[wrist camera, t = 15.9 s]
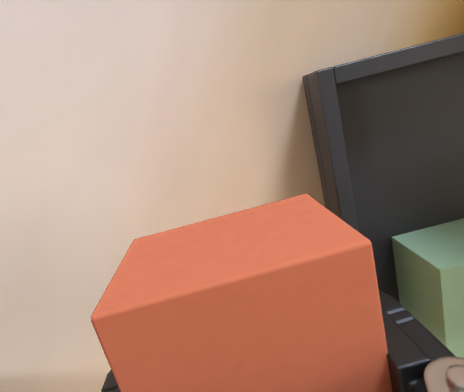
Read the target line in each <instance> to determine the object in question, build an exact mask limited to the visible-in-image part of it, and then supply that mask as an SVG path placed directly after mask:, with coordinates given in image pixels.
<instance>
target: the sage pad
mask: <svg viewBox="0 0 464 392" xmlns="http://www.w3.org/2000/svg"><path fill="white" fill-rule="evenodd" d="M392 245H393V253H394V261H395V269H396V277H397V285H398V293H399V301H400V304H401V305H402V306H403V307H404V308H405V310H408V311H409V312H410V313H411V314H412V315H413V316H414V318H415V319H417V320H418V321H419V322H420V323H421V324H422V325H423V326H424V327H426V328H427V329H428V330H429V331H430V332H431V333H432V334H433V335H434V336H435V337H436V338H437V339H438V340H439V341H440V342H441V343H442V344H443V345H444V346H446V347H447V348H448V349H449V350H450V351H451V352H452V353H453V354H454V355H455V356H456V357H462V358H464V218H463V219H459V220H455V221H451V222H447V223H443V224H439V225H436V226H432V227H428V228H424V229H420V230H416V231H412V232H408V233H405V234H401V235H397V236H393V237H392Z"/></svg>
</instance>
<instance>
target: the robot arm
mask: <svg viewBox="0 0 464 392" xmlns="http://www.w3.org/2000/svg"><path fill="white" fill-rule="evenodd" d="M379 296H380V302H381V309H382V316H383V323H384V329H385V336H386V343H387V350H388V354H387V357H388V364H389V371H390V377H391V384H392V391H393V392H464V358H462V357H456V356H455V355H454V354H453V353H452V352H451V351H450V350H449V349H448V348H447V347H446V346H444V345H443V344H442V343H441V342H440V341H439V340H438V339H437V338H436V337H435V336H434V335H433V334H432V333H431V332H430V331H429V330H428V329H427V328H426V327H424V326H423V325H422V324H421V323H420V322H419V321H418V320H417V319H415V318H414V316H413V315H412V314H411V313H410V312H409V311H408V310H405V308H404V307H403V306H402V305H401V304H400V303H399V302H398V301H397V300H396V299H395V298H394V297H393V296H391V295H389V294H386V293H384V292H382V291H380V290H379ZM102 392H121V391H120V389H119V386H118V384H117V382H116V379H115V377H114V374H113V372H112V370H110V372H109V373H108V374H107V377H106V380H105V382H104V385H103V388H102Z"/></svg>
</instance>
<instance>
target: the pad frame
mask: <svg viewBox="0 0 464 392" xmlns="http://www.w3.org/2000/svg"><path fill="white" fill-rule="evenodd" d="M303 82H304V88H305V94H306V99H307V105H308V110H309V116H310V122H311V127H312V133H313V139H314V144H315V150H316V155H317V161H318V167H319V172H320V178H321V184H322V189H323V195H324V200H325V206H326V208H327V209H328V210H329V211H331V212H332V213H333V214H335V215H336V216H337V217H339V218H340V219H342V220H343V221H344V222H346V223H347V224H348V225H350V226H351V227H352V228H354V229H355V230H356V231H358V232H359V233H361V234H362V235H363V236H365V237H366V238H367V239H369V240H370V241H371V243H372V248H373V255H374V262H375V269H376V275H377V282H378V289H379V290H380V291H382V292H384V293H386V294H389V295H391V296H393V297H394V298H395V299H396V300H397V301H398V302H399V303H400V301H399V293H398V285H397V277H396V269H395V261H394V253H393V245H392V237H393V236H397V235H401V234H405V233H408V232H412V231H416V230H420V229H424V228H428V227H432V226H436V225H439V224H443V223H447V222H451V221H455V220H459V219H463V218H464V33H463V34H459V35H455V36H451V37H447V38H443V39H440V40H436V41H432V42H428V43H424V44H420V45H416V46H412V47H408V48H404V49H400V50H397V51H393V52H389V53H385V54H381V55H377V56H373V57H369V58H365V59H361V60H357V61H353V62H350V63H346V64H342V65H338V66H334V67H330V68H326V69H322V70H318V71H315V72H313V73H310V74H308V75H305V76H303Z"/></svg>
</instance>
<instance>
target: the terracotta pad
mask: <svg viewBox="0 0 464 392" xmlns="http://www.w3.org/2000/svg"><path fill="white" fill-rule="evenodd" d="M91 322H92V324H93V327H94V329H95V331H96V334H97V336H98V339H99V341H100V343H101V346H102V348H103V351H104V353H105V355H106V358H107V360H108V363H109V365H110V367H111V370H112V372H113V374H114V377H115V379H116V382H117V384H118V386H119V389H120V391H121V392H393V391H392V384H391V377H390V371H389V364H388V357H387V354H388V350H387V343H386V336H385V329H384V323H383V316H382V309H381V302H380V296H379V289H378V282H377V275H376V269H375V262H374V255H373V248H372V243H371V241H370V240H369V239H367V238H366V237H365V236H363V235H362V234H361V233H359V232H358V231H356V230H355V229H354V228H352V227H351V226H350V225H348V224H347V223H346V222H344V221H343V220H342V219H340V218H339V217H337V216H336V215H335V214H333V213H332V212H331V211H329V210H328V209H327V208H325V207H324V206H323V205H321V204H320V203H318V202H317V201H316V200H314V199H313V198H312V197H310V196H309V195H308V194H303V195H299V196H295V197H292V198H288V199H284V200H280V201H277V202H273V203H269V204H265V205H262V206H258V207H254V208H250V209H247V210H243V211H239V212H235V213H232V214H228V215H224V216H220V217H217V218H213V219H209V220H205V221H202V222H198V223H194V224H190V225H187V226H183V227H179V228H175V229H172V230H168V231H164V232H160V233H157V234H153V235H149V236H145V237H142V238H138V239H135V240H134V241H133V242H132V244H131V246H130V248H129V249H128V251H127V253H126V255H125V257H124V258H123V260H122V262H121V264H120V265H119V267H118V269H117V271H116V273H115V274H114V276H113V278H112V280H111V281H110V283H109V285H108V287H107V289H106V290H105V292H104V294H103V296H102V298H101V299H100V301H99V303H98V305H97V306H96V308H95V310H94V312H93V314H92V315H91Z"/></svg>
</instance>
